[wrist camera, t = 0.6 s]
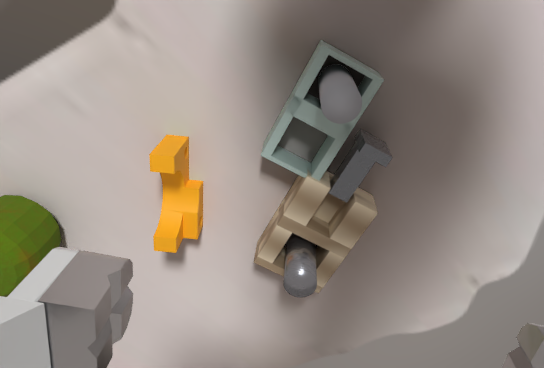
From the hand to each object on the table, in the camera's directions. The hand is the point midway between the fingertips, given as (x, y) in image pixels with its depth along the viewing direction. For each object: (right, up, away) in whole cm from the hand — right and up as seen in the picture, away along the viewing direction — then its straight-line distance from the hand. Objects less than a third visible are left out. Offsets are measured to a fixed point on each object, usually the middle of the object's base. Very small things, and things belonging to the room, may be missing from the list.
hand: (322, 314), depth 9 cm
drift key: (+8, +5, +40) cm, 41 cm away
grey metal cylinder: (+3, -4, +46) cm, 47 cm away
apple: (-33, -3, +49) cm, 59 cm away
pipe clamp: (-12, +3, +45) cm, 46 cm away
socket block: (+4, -1, +45) cm, 45 cm away
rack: (+4, +11, +39) cm, 41 cm away
